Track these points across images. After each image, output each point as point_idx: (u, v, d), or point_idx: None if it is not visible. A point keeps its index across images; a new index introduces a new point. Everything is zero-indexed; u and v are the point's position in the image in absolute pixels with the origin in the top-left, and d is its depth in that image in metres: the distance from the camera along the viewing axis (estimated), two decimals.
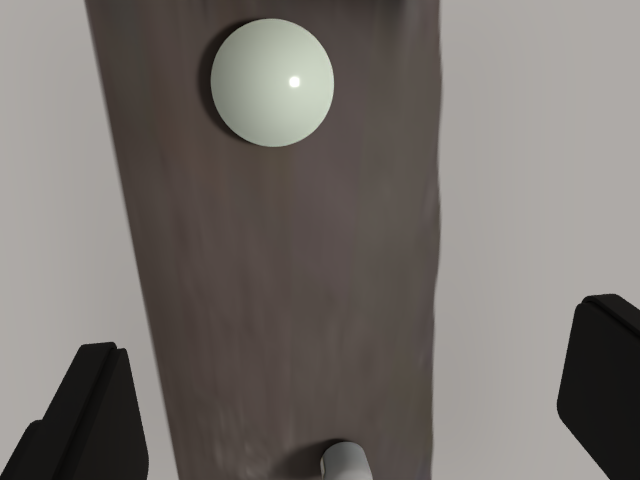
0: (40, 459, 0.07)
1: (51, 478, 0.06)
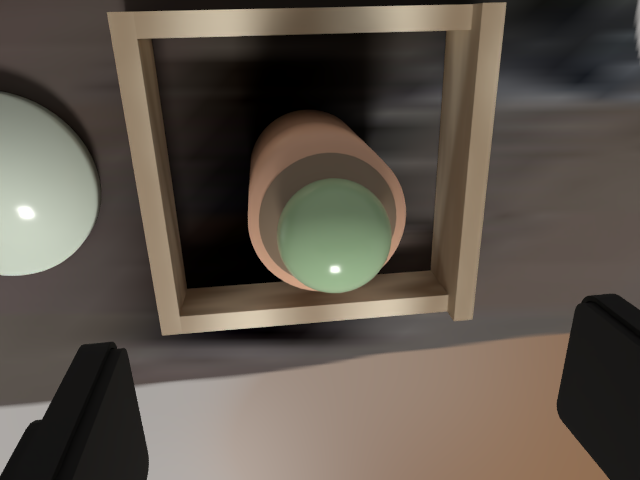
0: (40, 459, 0.07)
1: (51, 478, 0.06)
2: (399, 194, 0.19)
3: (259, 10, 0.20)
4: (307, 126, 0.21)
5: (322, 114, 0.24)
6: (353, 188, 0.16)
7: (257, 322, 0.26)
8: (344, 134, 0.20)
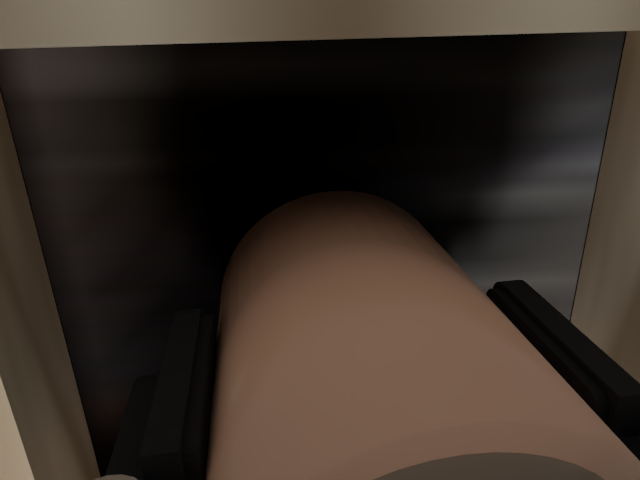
0: (169, 399, 0.08)
1: (184, 413, 0.07)
2: None
3: None
4: (358, 278, 0.08)
5: (372, 208, 0.11)
6: None
7: None
8: (474, 324, 0.07)
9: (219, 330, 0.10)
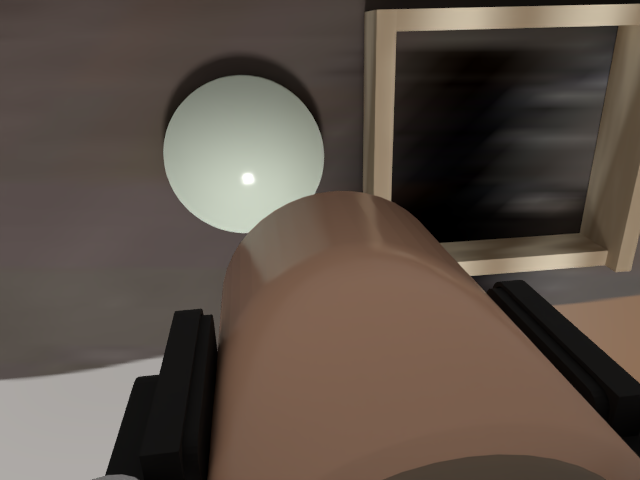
0: (169, 399, 0.08)
1: (184, 412, 0.07)
2: None
3: (494, 8, 0.25)
4: (361, 279, 0.08)
5: (374, 208, 0.11)
6: None
7: None
8: (477, 326, 0.07)
9: (220, 331, 0.10)
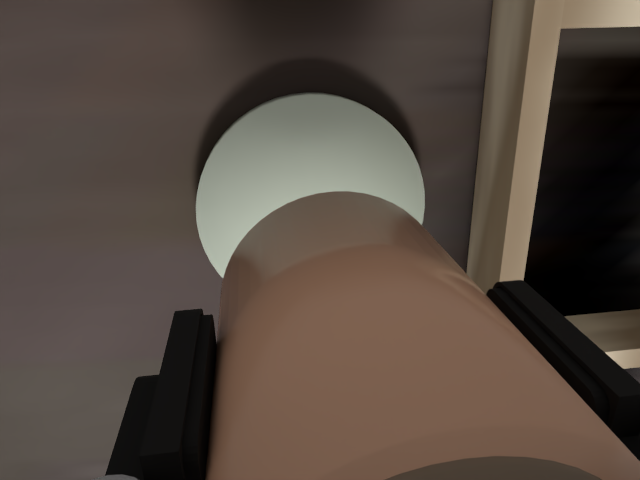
0: (169, 399, 0.08)
1: (184, 413, 0.07)
2: None
3: None
4: (359, 280, 0.08)
5: (372, 209, 0.11)
6: None
7: None
8: (475, 326, 0.07)
9: (219, 331, 0.10)
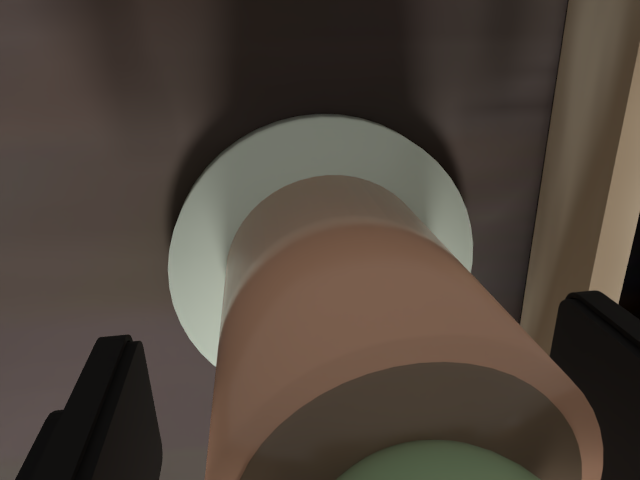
0: (64, 445, 0.07)
1: (76, 463, 0.06)
2: (591, 442, 0.07)
3: None
4: (344, 240, 0.09)
5: (362, 189, 0.13)
6: None
7: None
8: (439, 274, 0.08)
9: (224, 295, 0.12)
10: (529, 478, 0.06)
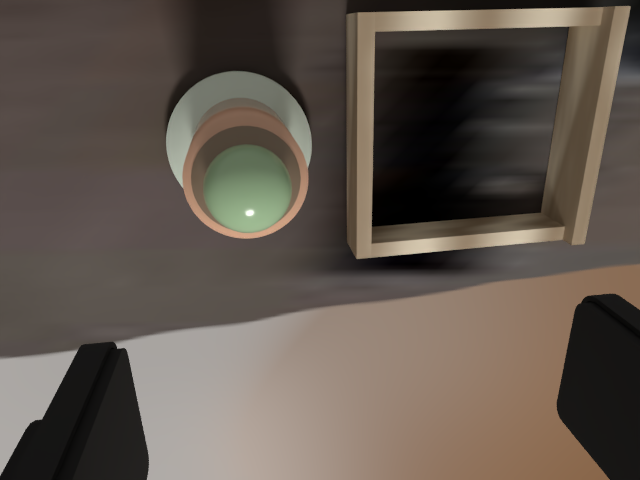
0: (40, 459, 0.07)
1: (51, 478, 0.06)
2: (302, 159, 0.24)
3: (460, 11, 0.29)
4: (233, 108, 0.26)
5: (251, 101, 0.29)
6: (259, 150, 0.22)
7: (426, 248, 0.34)
8: (260, 113, 0.25)
9: None
10: (267, 149, 0.23)
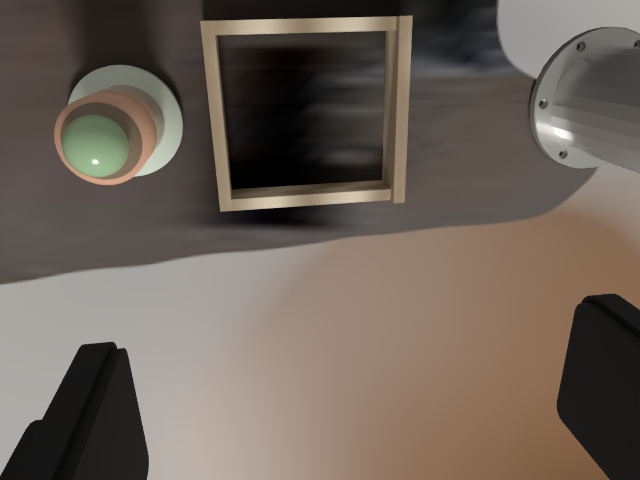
0: (40, 459, 0.07)
1: (51, 479, 0.06)
2: (142, 127, 0.34)
3: (280, 19, 0.38)
4: (101, 91, 0.36)
5: (127, 87, 0.39)
6: (99, 118, 0.31)
7: (276, 204, 0.44)
8: (116, 94, 0.35)
9: None
10: (109, 118, 0.32)
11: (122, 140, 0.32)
